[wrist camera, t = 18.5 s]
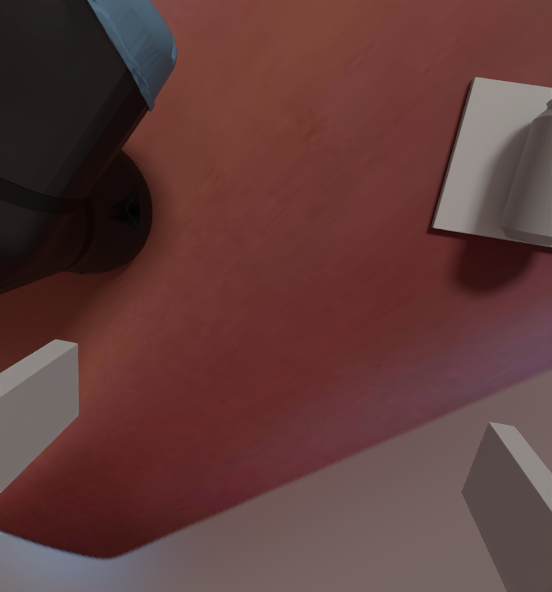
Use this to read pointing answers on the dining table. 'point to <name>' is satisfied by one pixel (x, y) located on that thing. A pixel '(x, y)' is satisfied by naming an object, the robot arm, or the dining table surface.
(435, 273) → the dining table surface
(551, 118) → the can
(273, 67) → the dining table surface
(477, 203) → the placemat
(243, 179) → the dining table surface
